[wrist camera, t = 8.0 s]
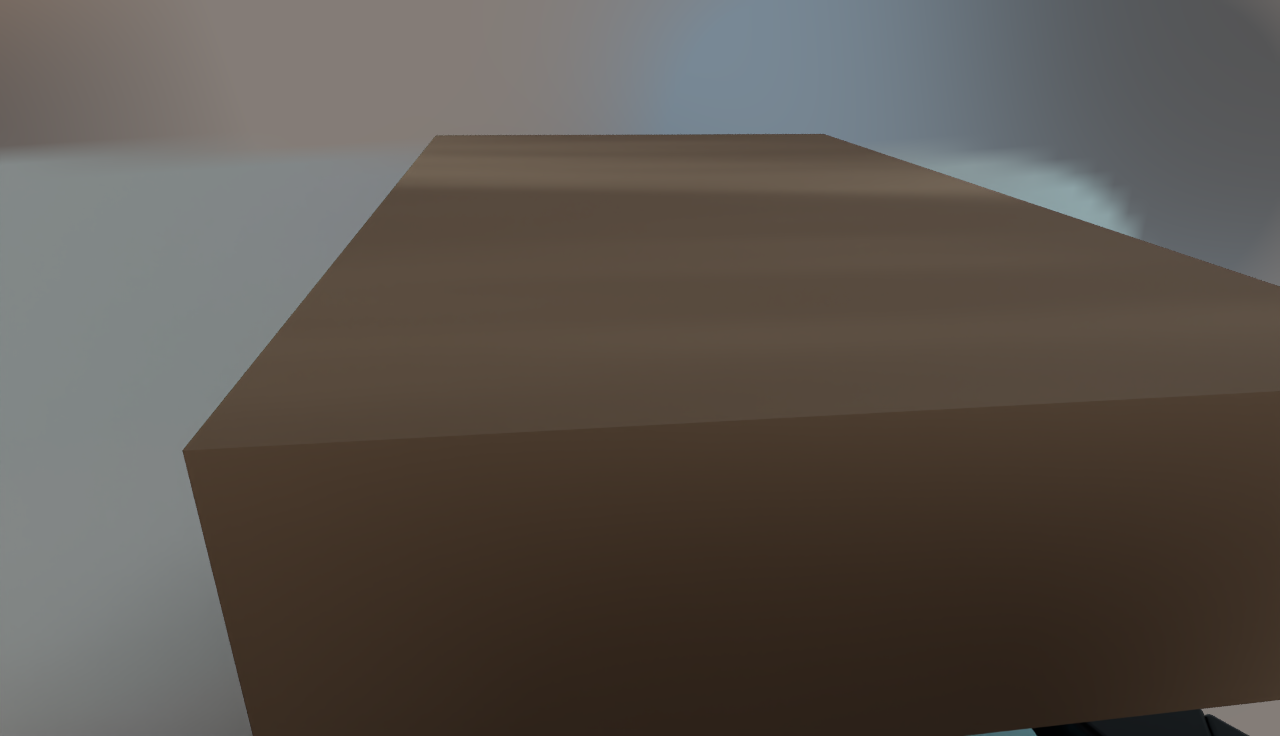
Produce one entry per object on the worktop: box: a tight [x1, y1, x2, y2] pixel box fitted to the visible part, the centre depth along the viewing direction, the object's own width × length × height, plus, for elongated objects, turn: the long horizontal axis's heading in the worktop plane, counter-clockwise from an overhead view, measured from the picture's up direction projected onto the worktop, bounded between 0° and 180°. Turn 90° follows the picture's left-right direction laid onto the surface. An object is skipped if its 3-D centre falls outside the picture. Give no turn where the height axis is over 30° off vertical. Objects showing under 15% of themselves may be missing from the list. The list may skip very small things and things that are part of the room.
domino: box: [183, 134, 1280, 736], centre depth 7 cm, size 2×5×8 cm, turn 89°
